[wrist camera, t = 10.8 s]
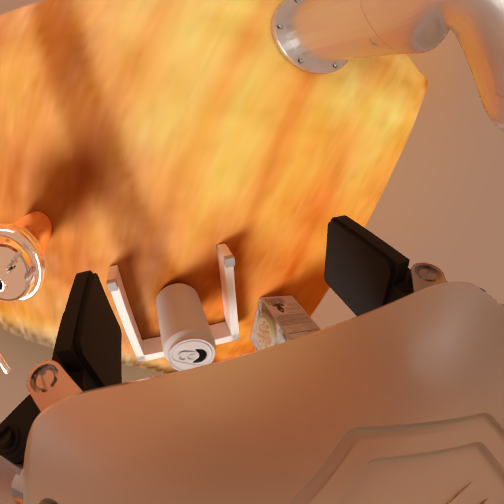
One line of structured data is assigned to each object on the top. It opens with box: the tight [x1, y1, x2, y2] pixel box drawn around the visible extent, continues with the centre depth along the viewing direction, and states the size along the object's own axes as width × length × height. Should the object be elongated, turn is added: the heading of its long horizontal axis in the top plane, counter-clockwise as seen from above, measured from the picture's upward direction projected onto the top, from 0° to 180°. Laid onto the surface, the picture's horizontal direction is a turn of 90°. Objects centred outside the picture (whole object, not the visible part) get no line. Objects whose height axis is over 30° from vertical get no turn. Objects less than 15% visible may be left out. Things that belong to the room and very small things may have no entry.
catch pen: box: [107, 243, 240, 362], centre depth 39 cm, size 16×15×4 cm
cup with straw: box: [0, 211, 52, 373], centre depth 21 cm, size 8×9×20 cm
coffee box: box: [250, 295, 321, 351], centre depth 43 cm, size 9×6×16 cm
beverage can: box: [156, 283, 216, 371], centre depth 36 cm, size 6×6×12 cm
